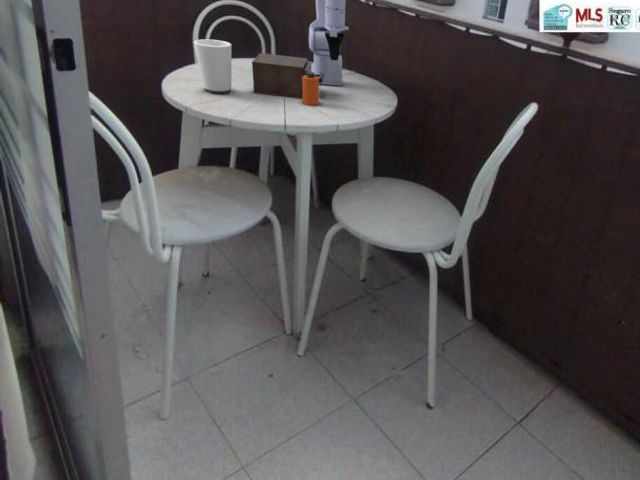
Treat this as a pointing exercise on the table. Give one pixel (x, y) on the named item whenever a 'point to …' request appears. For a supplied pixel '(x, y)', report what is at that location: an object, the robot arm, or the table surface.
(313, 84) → the bottle
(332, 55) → the robot arm
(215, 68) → the cup
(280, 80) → the cabinet
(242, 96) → the table surface
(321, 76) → the drawer
